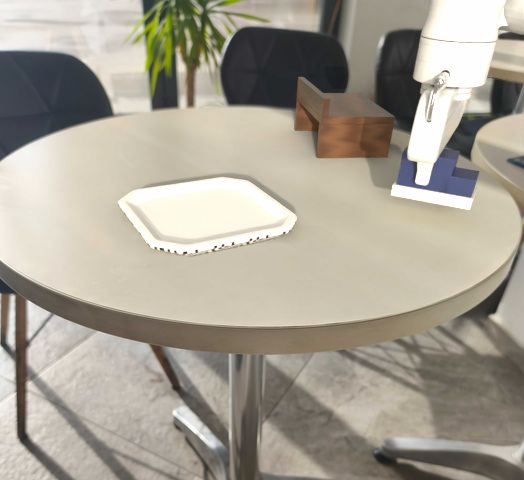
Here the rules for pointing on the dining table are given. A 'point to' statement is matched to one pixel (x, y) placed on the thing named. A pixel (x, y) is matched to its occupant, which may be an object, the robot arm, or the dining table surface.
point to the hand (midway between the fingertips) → (425, 177)
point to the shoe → (438, 182)
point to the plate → (205, 215)
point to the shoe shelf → (343, 122)
